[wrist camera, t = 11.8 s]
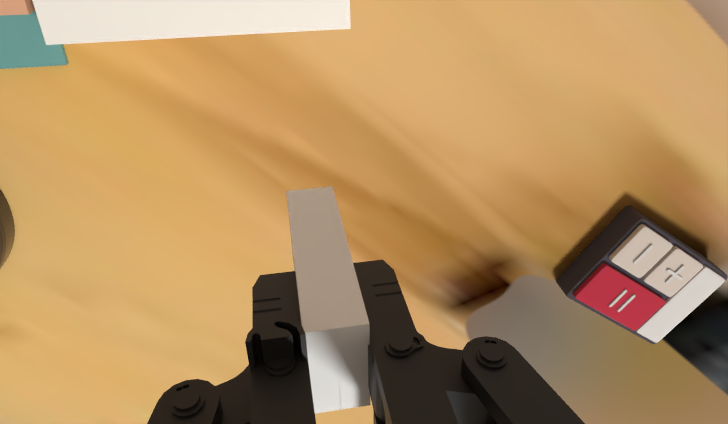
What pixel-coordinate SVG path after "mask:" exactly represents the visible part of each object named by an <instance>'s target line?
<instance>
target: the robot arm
mask: <svg viewBox="0 0 728 424" xmlns="http://www.w3.org/2000/svg"><path fill="white" fill-rule="evenodd" d="M286 192H287V202H288V212H289V222H290V232H291V242H292V252H293V262H294V271H292V272H284V273H275V274H267V275H260V276H259V278H258V280H257V281H256V283H255V285H254V286H253V328H252V330H251V331H250V332H249V333H248V335H247V338H246V342H245V343H246V348H247V354H248V360H249V365H248V366H247V367H246V369H245V370H244V371H243V372H242V373H240V374H239V375H238V376H237V377H235V378H233V379H231V380H229V381H227V382H225V383H222V384H220V385H217V386H214V385H212V384H211V383H210V382H208V381H204V380H199V379H194V380H186V381H183V382H181V383H178V384H176V385H174V386H172V387H171V388H170V389H168V390H167V391H166V392H164V394H163V395H162V396H161V398H160V399H159V401H158V402H157V404H156V406H155V408H154V410H153V413H152V415H151V417H150V419H149V421H148V423H147V424H316V420H315V413H322V412H328V411H335V410H341V409H347V408H354V407H360V406H367V405H370V396H371V400H372V404H373V409H374V424H585V423H584V422H583V421H582V420H581V419H580V418H579V417H578V416H577V415H576V414H575V413H574V412H573V410H572V409H571V408H570V407H569V406H568V405H567V404H566V403H565V402H564V401H563V400H562V399H561V397H560V396H559V395H558V394H557V393H556V392H555V391H554V390H553V389H552V388H551V387H550V386H549V385H548V384H547V382H546V381H545V380H544V379H543V378H542V377H541V376H540V375H539V374H538V373H537V372H536V371H535V370H534V368H533V367H532V366H531V365H530V364H529V363H528V362H527V361H526V360H525V359H524V358H523V357H522V356H521V354H520V353H519V352H518V351H517V350H516V349H515V348H514V347H513V346H511V345H510V344H509V343H507V342H506V341H503V340H501V339H498V338H493V337H479V338H475V339H473V340H471V341H470V342H468V343H467V344H466V346H465V347H464V349H463V350H457V349H448V348H443V347H438V346H435V345H433V344H430V343H429V342H427V341H426V340H425V338H424V337H423V336H422V335H421V334H419V333H418V332H417V331H416V329H415V326H414V323H413V321H412V318H411V315H410V313H409V310H408V307H407V305H406V302H405V299H404V296H403V294H402V291H401V288H400V286H399V284H398V280H397V278H396V275H395V272H394V270H393V269H392V268H391V267H390V266H389V265H388V264H387V263H386V262H385V261H383V260H376V261H368V262H359V263H353V261H352V257H351V254H350V250H349V246H348V242H347V239H346V235H345V231H344V228H343V224H342V220H341V217H340V213H339V209H338V205H337V202H336V198H335V194H334V191H333V187H322V188H312V189H302V190H291V191H286ZM14 234H15V229H14V221H13V216H12V213H11V210H10V207H9V205H8V203H7V201H6V199H5V197H4V195H3V194H2V192H1V191H0V269H1V267H2V266H3V264H4V263H5V261H6V260H7V258H8V256H9V254H10V252H11V249H12V246H13V242H14Z"/></svg>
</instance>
